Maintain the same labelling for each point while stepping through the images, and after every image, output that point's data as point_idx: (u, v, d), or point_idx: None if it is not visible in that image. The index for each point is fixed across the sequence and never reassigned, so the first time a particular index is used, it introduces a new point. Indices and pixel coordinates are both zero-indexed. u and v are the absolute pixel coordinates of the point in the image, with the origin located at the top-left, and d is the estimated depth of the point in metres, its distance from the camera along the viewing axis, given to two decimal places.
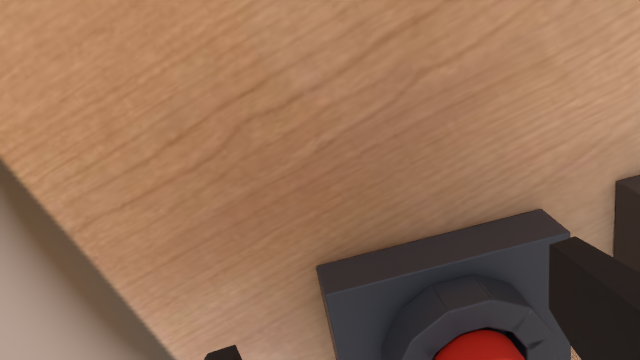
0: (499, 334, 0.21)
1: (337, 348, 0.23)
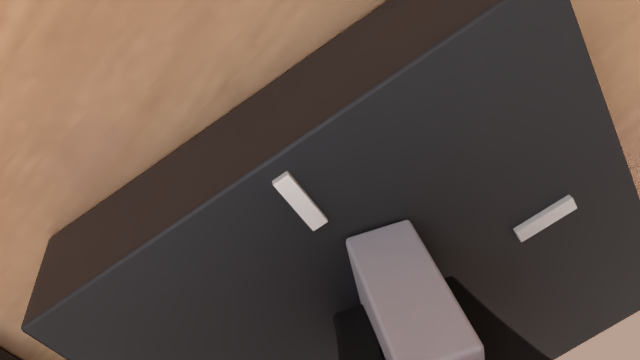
0: None
1: None
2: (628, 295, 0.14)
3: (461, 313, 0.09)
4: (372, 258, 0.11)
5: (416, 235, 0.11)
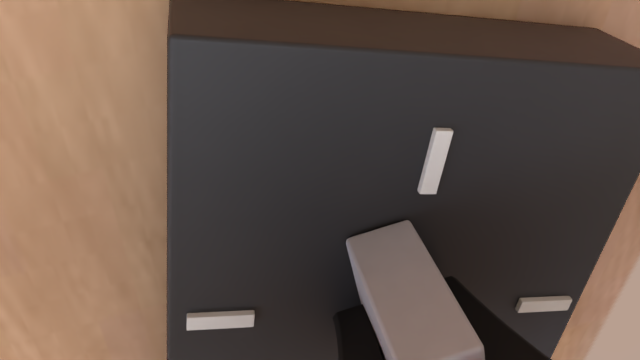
0: None
1: None
2: (630, 120, 0.12)
3: (461, 313, 0.09)
4: (372, 258, 0.11)
5: (416, 235, 0.11)
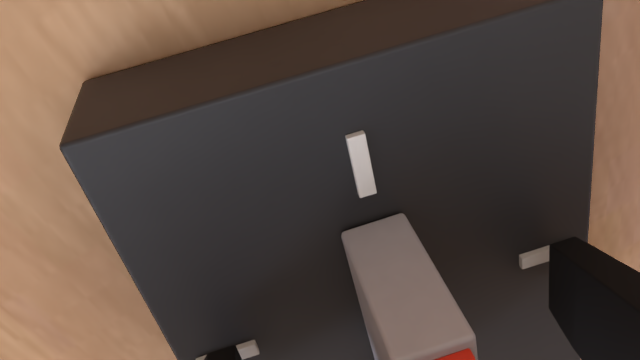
0: None
1: None
2: (559, 55, 0.11)
3: (454, 303, 0.09)
4: (367, 251, 0.11)
5: (410, 228, 0.11)
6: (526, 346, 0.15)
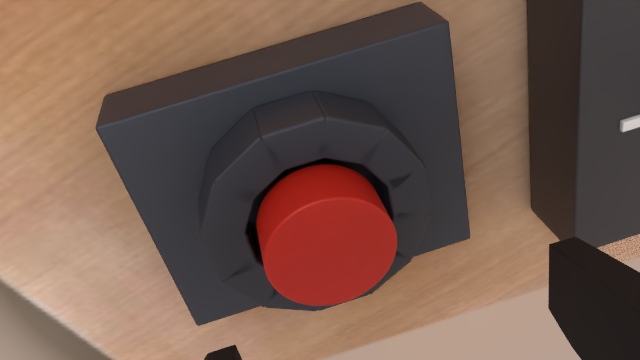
0: (346, 169, 0.15)
1: (135, 204, 0.16)
2: None
3: None
4: None
5: None
6: None
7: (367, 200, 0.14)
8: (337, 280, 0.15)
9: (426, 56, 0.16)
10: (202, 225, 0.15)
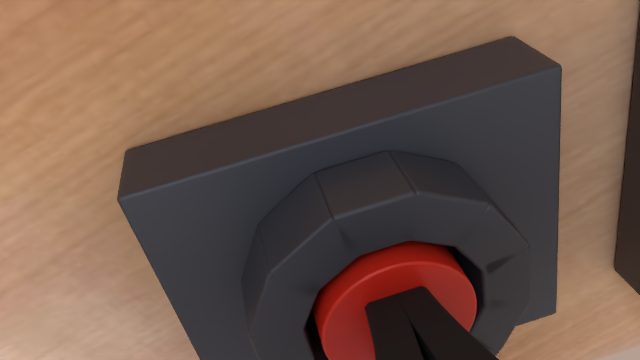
0: None
1: (163, 286, 0.13)
2: None
3: None
4: None
5: None
6: None
7: (447, 264, 0.12)
8: None
9: (530, 107, 0.13)
10: (251, 322, 0.12)
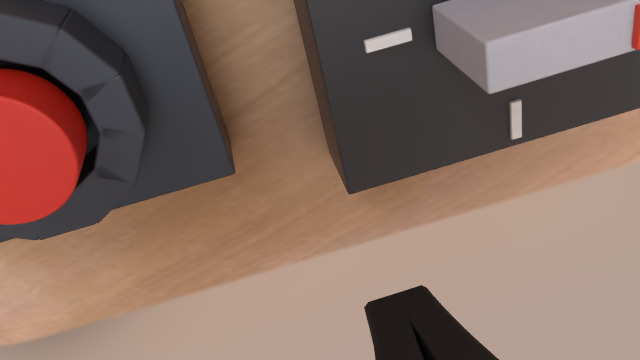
0: (27, 74, 0.14)
1: None
2: None
3: None
4: None
5: None
6: (421, 131, 0.18)
7: (21, 100, 0.13)
8: (14, 194, 0.14)
9: None
10: None
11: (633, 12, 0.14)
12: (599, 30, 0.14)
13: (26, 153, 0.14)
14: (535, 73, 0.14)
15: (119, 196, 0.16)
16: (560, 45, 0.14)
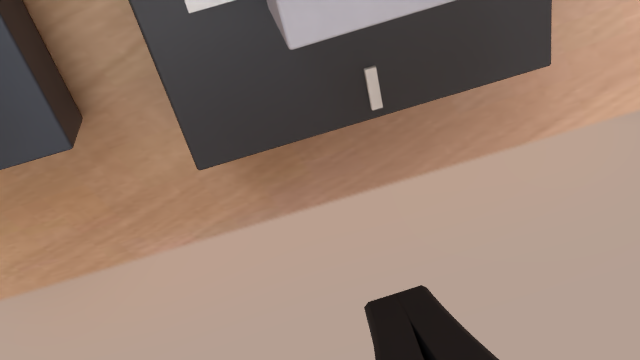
0: None
1: None
2: (520, 50, 0.18)
3: None
4: None
5: None
6: (268, 101, 0.17)
7: None
8: None
9: None
10: None
11: None
12: None
13: None
14: (339, 26, 0.13)
15: None
16: None
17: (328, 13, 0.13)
